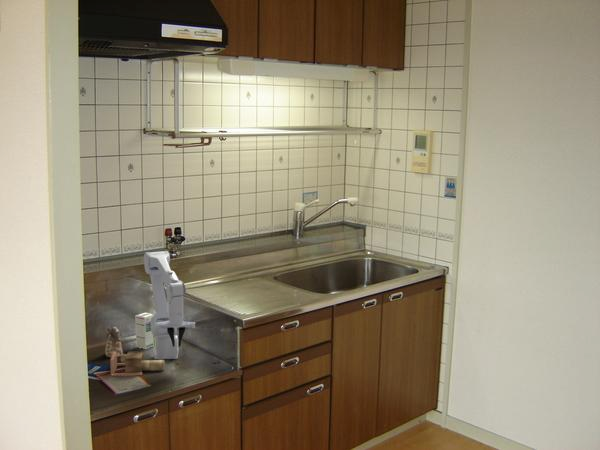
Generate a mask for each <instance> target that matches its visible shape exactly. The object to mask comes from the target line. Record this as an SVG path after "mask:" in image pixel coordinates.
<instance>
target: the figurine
mask: <svg viewBox="0 0 600 450" xmlns="http://www.w3.org/2000/svg"><path fill="white" fill-rule="evenodd" d="M106 330H107V333H106V339H107V341H106V344H105V352H104V353H105V356H106V357H108V358H112V355H113V353H114V352H117V358H118V357H121V354H124V351H123V350H124V349H123V346H122V341H121V339H122V333H121V332H120V330H119V328H117V327H116V326H113V327H112V328H110V327H109V326H108V327H107V328H106ZM109 335H110V336H109Z"/></svg>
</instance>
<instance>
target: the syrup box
mask: <svg viewBox="0 0 600 450" xmlns="http://www.w3.org/2000/svg"><path fill="white" fill-rule="evenodd" d="M154 315H155V314H154V313H151V312H143V313H139V314H136V315H135V318H134V319H135V340H136V341H135V342H136V348H138V347H139V348H138V349H141V348H143V349H142V350H148V349H150V347H151V348H153V347H155V336H153V335H152V333H151V318H152V317H153V316H154Z"/></svg>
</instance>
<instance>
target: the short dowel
mask: <svg viewBox="0 0 600 450" xmlns="http://www.w3.org/2000/svg"><path fill="white" fill-rule="evenodd" d="M126 356H127V354H126V353H123V354H121V356H120V363H125V358H126Z"/></svg>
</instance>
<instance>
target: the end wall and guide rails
mask: <svg viewBox="0 0 600 450" xmlns="http://www.w3.org/2000/svg"><path fill="white" fill-rule="evenodd" d="M109 364H110V375H111V374H113V375H114V376H113V375H112V376H113V377H127V376H129V377H130V376H131V377H132V376H143V372H142V373H125V372H121V373H116V369H117V368H118V366H119V367H120V366H121V367H122V366H124V367H125V362H118V357H117V352H114V353H113V355H112V357H110V363H109ZM114 372H115V373H114ZM117 375H118V376H117ZM120 375H121V376H120Z"/></svg>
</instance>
